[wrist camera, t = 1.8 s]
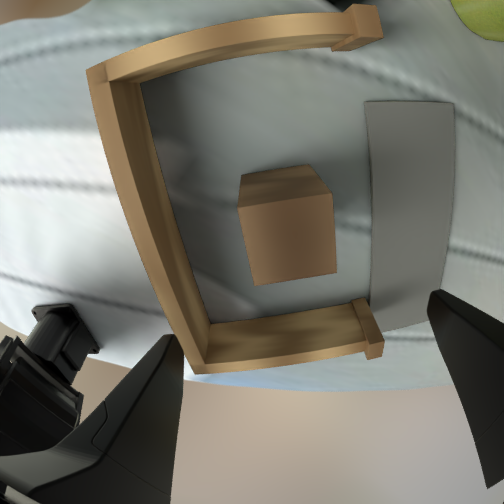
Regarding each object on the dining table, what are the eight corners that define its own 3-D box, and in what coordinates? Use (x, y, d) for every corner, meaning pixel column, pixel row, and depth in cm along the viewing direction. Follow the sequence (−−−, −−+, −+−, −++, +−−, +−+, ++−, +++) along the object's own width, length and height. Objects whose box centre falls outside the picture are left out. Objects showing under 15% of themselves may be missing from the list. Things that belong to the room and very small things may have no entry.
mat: (365, 333, 26) (367, 335, 25) (363, 101, 16) (366, 102, 16) (430, 316, 25) (431, 319, 25) (450, 103, 15) (453, 103, 15)
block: (253, 235, 21) (254, 285, 16) (241, 174, 19) (237, 208, 13) (315, 225, 20) (336, 272, 15) (308, 164, 18) (332, 193, 13)
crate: (202, 337, 26) (195, 383, 21) (119, 69, 15) (77, 64, 10) (363, 313, 24) (381, 356, 20) (344, 26, 13) (376, 5, 9)
